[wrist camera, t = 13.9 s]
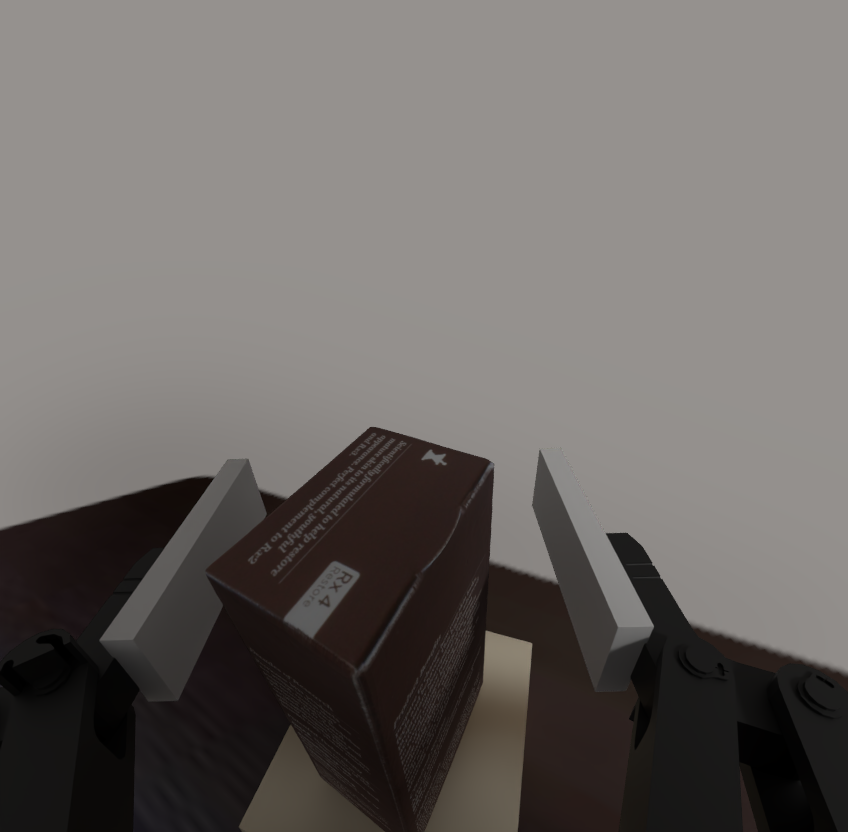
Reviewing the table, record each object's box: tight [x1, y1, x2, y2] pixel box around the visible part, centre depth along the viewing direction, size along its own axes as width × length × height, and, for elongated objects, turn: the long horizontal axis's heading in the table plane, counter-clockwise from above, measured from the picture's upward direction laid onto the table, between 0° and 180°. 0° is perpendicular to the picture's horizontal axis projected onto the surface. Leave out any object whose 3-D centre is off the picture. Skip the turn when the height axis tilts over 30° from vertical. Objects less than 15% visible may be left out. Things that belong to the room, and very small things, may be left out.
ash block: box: [239, 631, 532, 832], centre depth 17 cm, size 9×9×5 cm
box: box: [205, 427, 494, 832], centre depth 12 cm, size 6×4×12 cm
